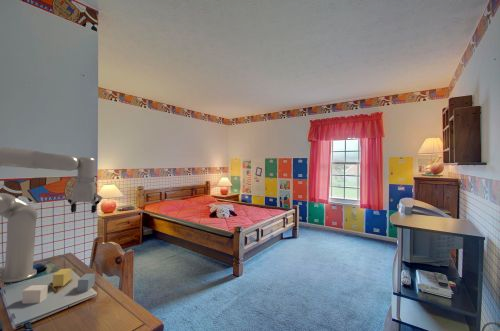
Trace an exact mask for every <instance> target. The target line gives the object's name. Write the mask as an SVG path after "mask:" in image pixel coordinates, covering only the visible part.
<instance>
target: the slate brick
mask: <svg viewBox="0 0 500 331" xmlns="http://www.w3.org/2000/svg"><path fill="white" fill-rule="evenodd" d="M95 282H96V273H84V274H83V275H82V276H81V277H80V278H79V279H78V280H77V289H76V290H77V291H76V292H82V293H83V292H88V291H89V290H91V289H92V288H93V287H94V286H95Z"/></svg>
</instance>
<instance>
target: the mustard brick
mask: <svg viewBox="0 0 500 331" xmlns="http://www.w3.org/2000/svg"><path fill="white" fill-rule="evenodd" d="M71 277H72V268H60V269H59V270H58V271H56V272H55V273H54V274H53V275H52V282H53V286H52V287H54V286H64V285H65V284H66V283H67V282H68V281H69V280H70V279H72V278H71Z"/></svg>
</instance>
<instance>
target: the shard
mask: <svg viewBox="0 0 500 331" xmlns="http://www.w3.org/2000/svg"><path fill="white" fill-rule="evenodd" d="M73 281H74V279H72V278H71V279H70V280H69V281H68V282H67V283H66V284H65V285H64V286H54V287H52V286H53V281H52V282H50V283H48V286H50V287H52V289H53V291H54V292H56V293H59V292H60V291H61V290H62V289H64V288H65V287H66V286H68V285H69V284H71V283H72V282H73Z"/></svg>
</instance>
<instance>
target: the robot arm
mask: <svg viewBox="0 0 500 331" xmlns="http://www.w3.org/2000/svg"><path fill="white" fill-rule="evenodd" d="M1 167H13V168H25V169H43V170H44V169H45V170H55V171H56V170H57V171H65V172H66V171H68V172H71V171H77V176H76V177H75V178H74V181H76V182H75V183H74V185H73V188H72V193H71V194H69V195H66V196H65V197H66V198H65V199H66V200H67V202H68V203H69V205H70V212H71V213H72V214H73V213H76V212H77V203H91V212H90V213H91V214H93V213H96V212H97V207H98V206H97V205H98V204H99V203H101V201H102V200H103V196H100V194H97V186H96V182H95V174H96V172H95V171H96V159H95V158H94V157H83V156H82V157H78V156H73V155H69V154H68V155H67V154H58V153H49V152H42V151H38V150H32V149H22V148H16V147H6V146H0V168H1ZM96 199H97V200H96ZM0 217H3V218H5V219H7V222H6V245H5V246H6V248H5V259H4V266H0V274H1V275H0V283H15V282H19V281H24V280H27V279H30V278H33V277H34V276H35V275H37V273H38V272H37V271H38V270H37V269H36V268H34V256H35V255H34V253H35V241H36V240H35V239H36V227H37V226H36V225H37V219H38V218H37V217H38V210H36V208H35V207H33V206H31V205H30V204H28V203H27V202H25V201H23V200H21V199H19V198H17V197H16V196H14V195H13V194H9V193H7V192H0Z"/></svg>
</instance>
